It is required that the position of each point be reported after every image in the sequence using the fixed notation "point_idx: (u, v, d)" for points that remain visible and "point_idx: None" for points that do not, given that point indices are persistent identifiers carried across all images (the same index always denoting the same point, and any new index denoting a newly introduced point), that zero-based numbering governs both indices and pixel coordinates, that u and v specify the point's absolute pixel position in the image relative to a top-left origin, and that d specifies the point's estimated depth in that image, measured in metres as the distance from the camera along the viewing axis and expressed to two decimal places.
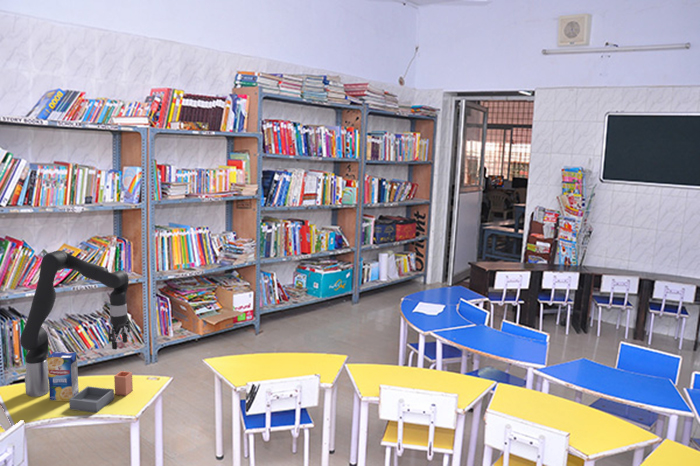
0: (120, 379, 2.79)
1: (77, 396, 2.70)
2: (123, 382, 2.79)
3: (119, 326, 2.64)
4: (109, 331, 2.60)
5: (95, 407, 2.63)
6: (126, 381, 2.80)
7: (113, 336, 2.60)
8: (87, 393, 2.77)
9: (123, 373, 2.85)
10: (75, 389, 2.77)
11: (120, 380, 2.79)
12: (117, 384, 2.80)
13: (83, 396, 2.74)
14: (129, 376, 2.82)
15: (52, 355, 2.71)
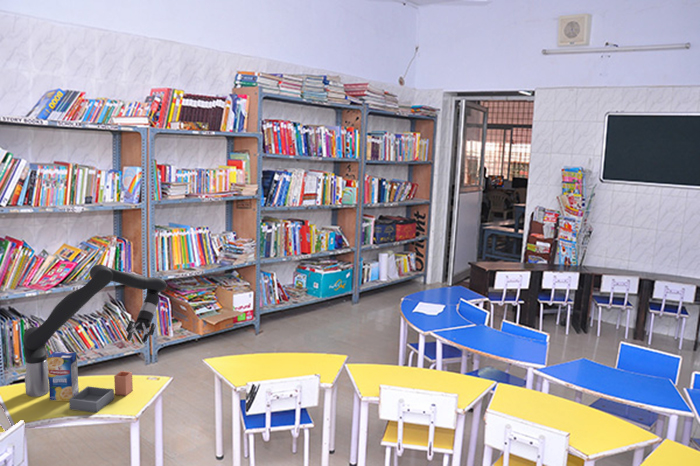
0: (120, 379, 2.79)
1: (77, 396, 2.70)
2: (123, 382, 2.79)
3: None
4: (154, 325, 2.95)
5: (95, 407, 2.63)
6: (126, 381, 2.80)
7: (153, 330, 2.95)
8: (87, 393, 2.77)
9: (123, 373, 2.85)
10: (75, 389, 2.77)
11: (120, 380, 2.79)
12: (117, 384, 2.80)
13: (83, 396, 2.74)
14: (129, 376, 2.82)
15: (52, 355, 2.71)
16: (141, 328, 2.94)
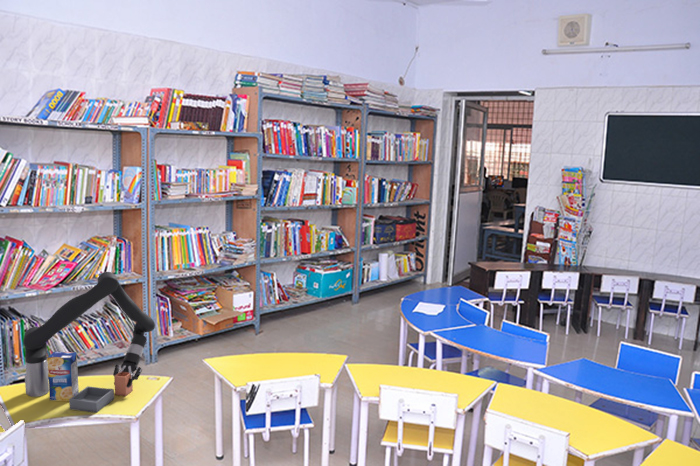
0: (120, 379, 2.79)
1: (77, 396, 2.70)
2: (123, 382, 2.79)
3: None
4: (140, 369, 2.85)
5: (95, 407, 2.63)
6: (126, 381, 2.80)
7: (139, 374, 2.85)
8: (87, 393, 2.77)
9: (123, 373, 2.85)
10: (75, 389, 2.77)
11: (120, 380, 2.79)
12: (117, 384, 2.80)
13: (83, 396, 2.74)
14: (129, 376, 2.82)
15: (52, 355, 2.71)
16: (127, 371, 2.84)
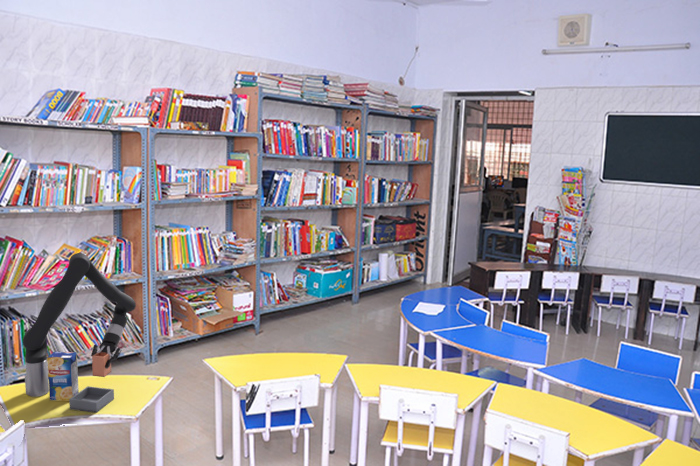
0: (98, 359, 2.69)
1: (77, 396, 2.70)
2: (101, 362, 2.69)
3: None
4: (119, 350, 2.75)
5: (95, 407, 2.63)
6: (105, 362, 2.70)
7: (118, 355, 2.75)
8: (87, 393, 2.77)
9: (102, 353, 2.74)
10: (75, 389, 2.77)
11: (98, 360, 2.69)
12: (95, 364, 2.70)
13: (83, 396, 2.74)
14: (108, 356, 2.72)
15: (52, 355, 2.71)
16: (105, 351, 2.74)
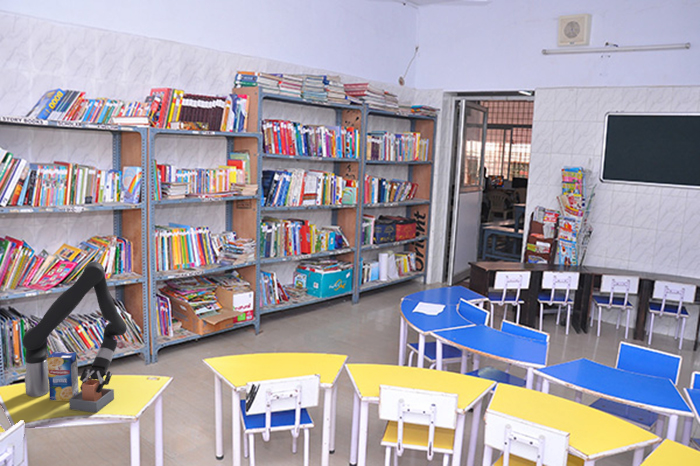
0: (88, 388, 2.67)
1: (77, 396, 2.70)
2: (91, 390, 2.67)
3: None
4: (110, 373, 2.72)
5: (95, 407, 2.63)
6: (94, 390, 2.68)
7: (109, 379, 2.73)
8: None
9: (92, 381, 2.72)
10: (75, 389, 2.77)
11: (88, 389, 2.67)
12: (85, 393, 2.67)
13: None
14: (97, 384, 2.70)
15: (52, 355, 2.71)
16: (96, 377, 2.71)
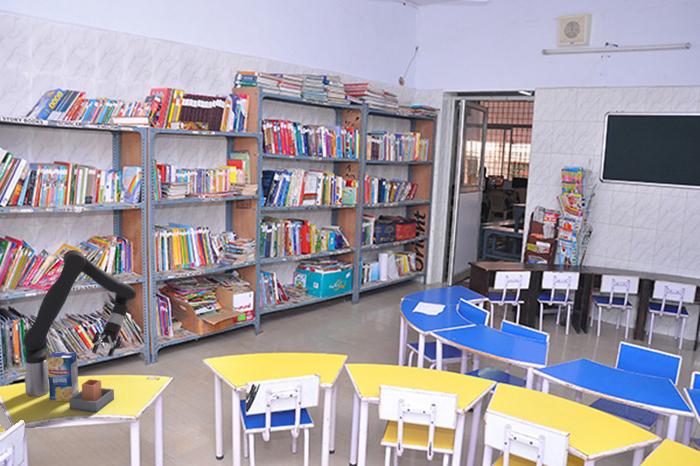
0: (88, 388, 2.67)
1: (77, 396, 2.70)
2: (91, 390, 2.67)
3: None
4: (120, 338, 2.82)
5: (95, 407, 2.63)
6: (94, 390, 2.68)
7: (120, 343, 2.83)
8: None
9: (92, 381, 2.72)
10: (75, 389, 2.77)
11: (88, 389, 2.67)
12: (85, 393, 2.67)
13: None
14: (97, 384, 2.70)
15: (52, 355, 2.71)
16: (107, 341, 2.81)
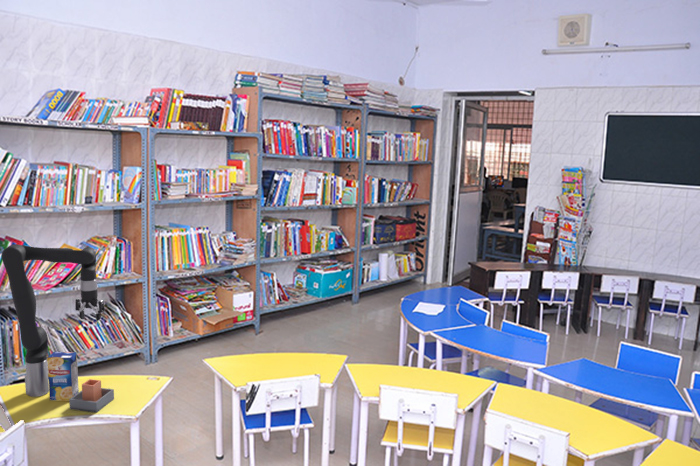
0: (88, 388, 2.67)
1: (77, 396, 2.70)
2: (91, 390, 2.67)
3: None
4: (101, 302, 2.78)
5: (95, 407, 2.63)
6: (94, 390, 2.68)
7: (103, 306, 2.81)
8: None
9: (92, 381, 2.72)
10: (75, 389, 2.77)
11: (88, 389, 2.67)
12: (85, 393, 2.67)
13: None
14: (97, 384, 2.70)
15: (52, 355, 2.71)
16: (90, 307, 2.79)
